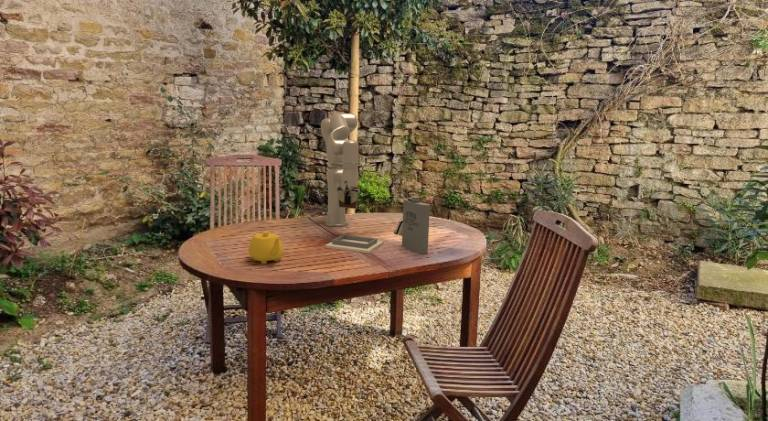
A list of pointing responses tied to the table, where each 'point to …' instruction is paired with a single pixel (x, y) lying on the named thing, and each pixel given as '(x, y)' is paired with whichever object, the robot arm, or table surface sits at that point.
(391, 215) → the table surface
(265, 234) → the teapot
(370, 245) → the board
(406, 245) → the grey upright block
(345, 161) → the robot arm
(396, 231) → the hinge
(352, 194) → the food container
